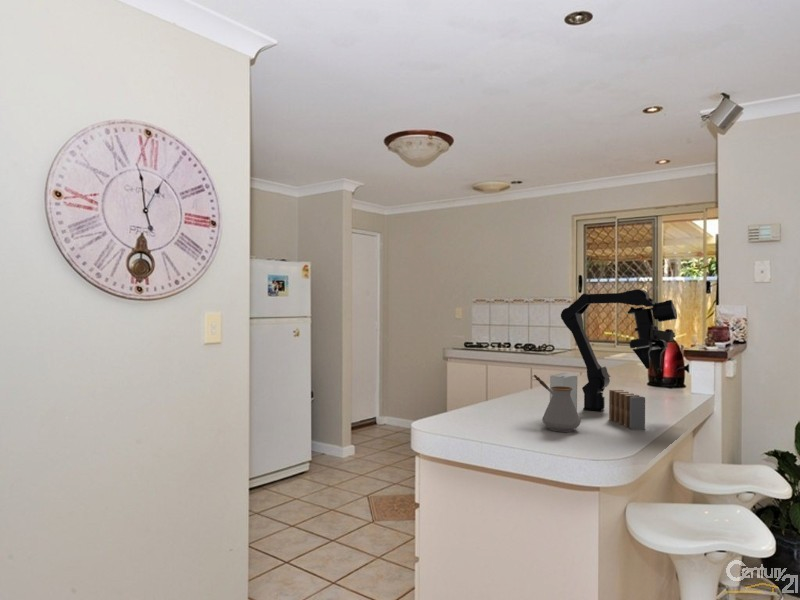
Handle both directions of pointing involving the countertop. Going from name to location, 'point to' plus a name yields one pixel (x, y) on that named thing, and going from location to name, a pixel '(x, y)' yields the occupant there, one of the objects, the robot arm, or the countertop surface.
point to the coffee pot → (560, 409)
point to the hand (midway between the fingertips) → (653, 368)
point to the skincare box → (565, 384)
